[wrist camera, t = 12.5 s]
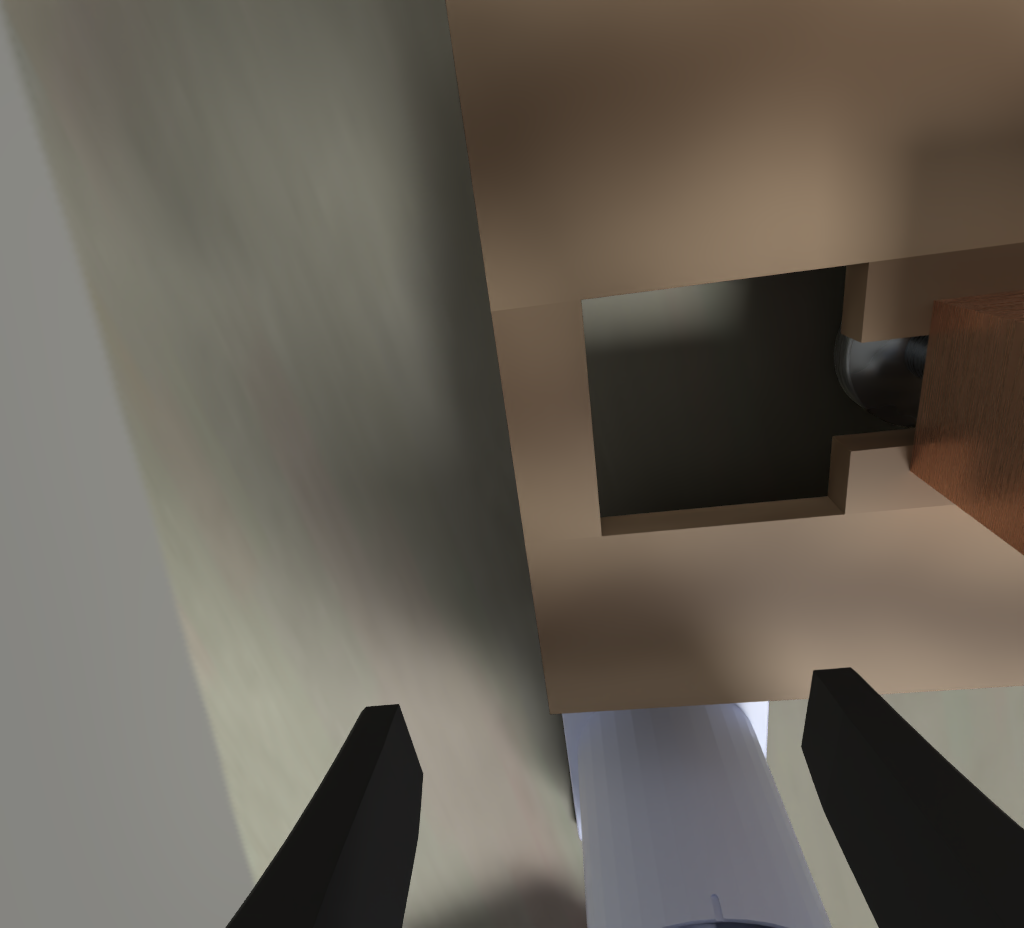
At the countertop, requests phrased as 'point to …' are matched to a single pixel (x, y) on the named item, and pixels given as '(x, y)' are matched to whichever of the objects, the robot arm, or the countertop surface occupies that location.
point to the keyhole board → (730, 256)
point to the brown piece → (955, 402)
